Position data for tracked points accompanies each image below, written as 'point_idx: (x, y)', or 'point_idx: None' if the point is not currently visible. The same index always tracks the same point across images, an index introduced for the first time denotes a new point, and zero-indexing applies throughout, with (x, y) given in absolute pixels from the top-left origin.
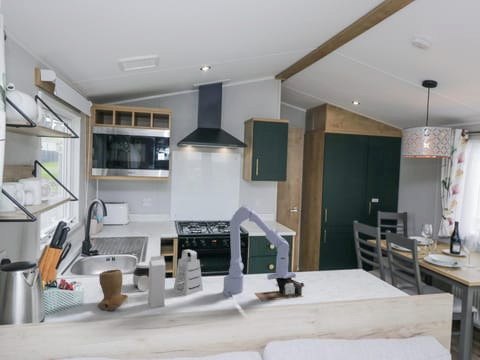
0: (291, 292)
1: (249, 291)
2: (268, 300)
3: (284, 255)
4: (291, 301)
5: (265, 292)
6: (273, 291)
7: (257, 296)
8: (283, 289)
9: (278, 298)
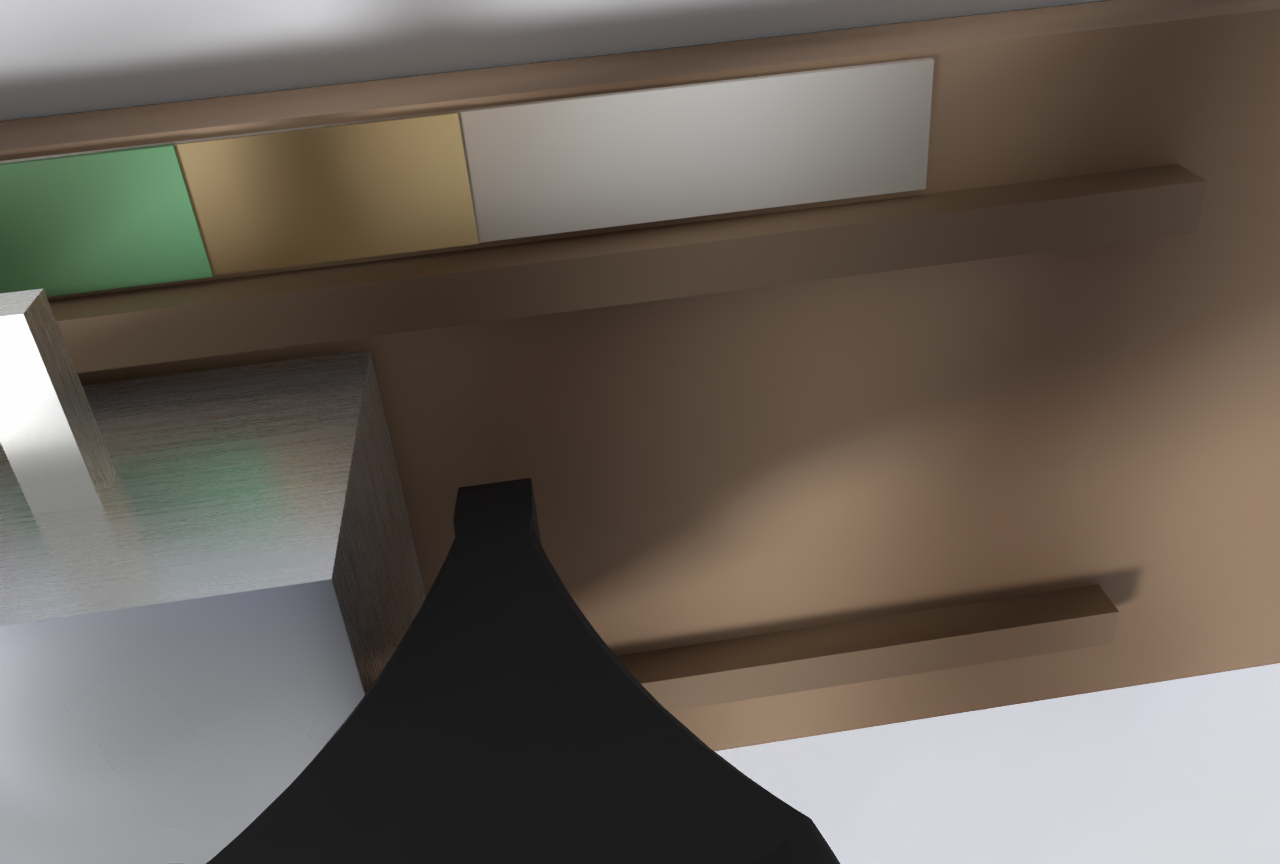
0: (24, 298)
1: (1216, 827)
2: (1262, 18)
3: None
4: (155, 8)
5: (1027, 641)
6: (714, 702)
7: None
8: (395, 636)
9: (759, 147)
